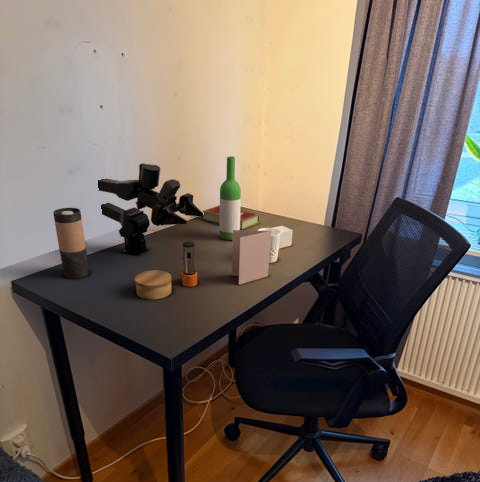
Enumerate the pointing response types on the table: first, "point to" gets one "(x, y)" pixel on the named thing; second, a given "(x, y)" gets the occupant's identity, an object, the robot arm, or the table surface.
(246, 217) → the hardcover book
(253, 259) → the greeting card
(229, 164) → the wine bottle
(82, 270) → the travel mug
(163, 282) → the birch box
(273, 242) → the white cup
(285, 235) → the cream cube
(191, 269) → the torch
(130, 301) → the table surface
